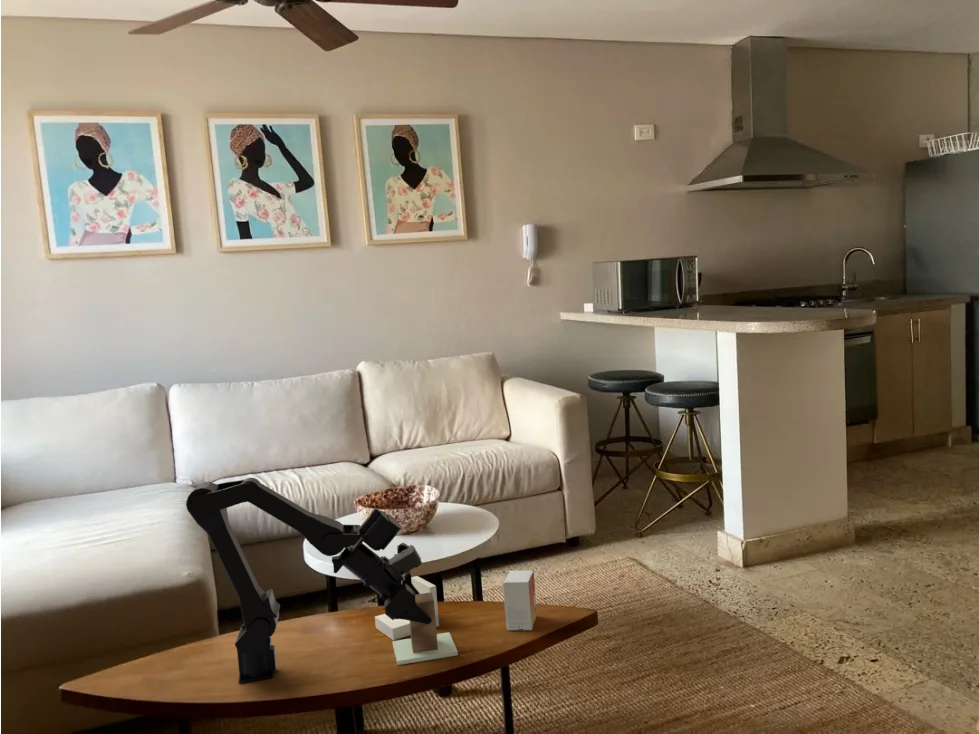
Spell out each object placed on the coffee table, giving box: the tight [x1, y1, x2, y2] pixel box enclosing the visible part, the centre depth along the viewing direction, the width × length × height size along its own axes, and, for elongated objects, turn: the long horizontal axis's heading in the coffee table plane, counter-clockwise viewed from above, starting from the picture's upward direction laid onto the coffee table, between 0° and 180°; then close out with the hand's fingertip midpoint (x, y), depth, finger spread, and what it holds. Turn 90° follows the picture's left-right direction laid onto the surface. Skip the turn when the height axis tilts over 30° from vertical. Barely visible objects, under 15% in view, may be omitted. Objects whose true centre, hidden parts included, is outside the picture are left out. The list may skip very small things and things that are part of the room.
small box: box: [502, 569, 538, 631], centre depth 172 cm, size 8×6×10 cm
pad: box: [392, 632, 459, 666], centre depth 162 cm, size 12×10×1 cm
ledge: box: [374, 575, 440, 641], centre depth 175 cm, size 11×9×9 cm
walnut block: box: [410, 593, 438, 653], centre depth 162 cm, size 5×5×10 cm
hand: (428, 613), depth 162 cm, fingers open, 9 cm apart
